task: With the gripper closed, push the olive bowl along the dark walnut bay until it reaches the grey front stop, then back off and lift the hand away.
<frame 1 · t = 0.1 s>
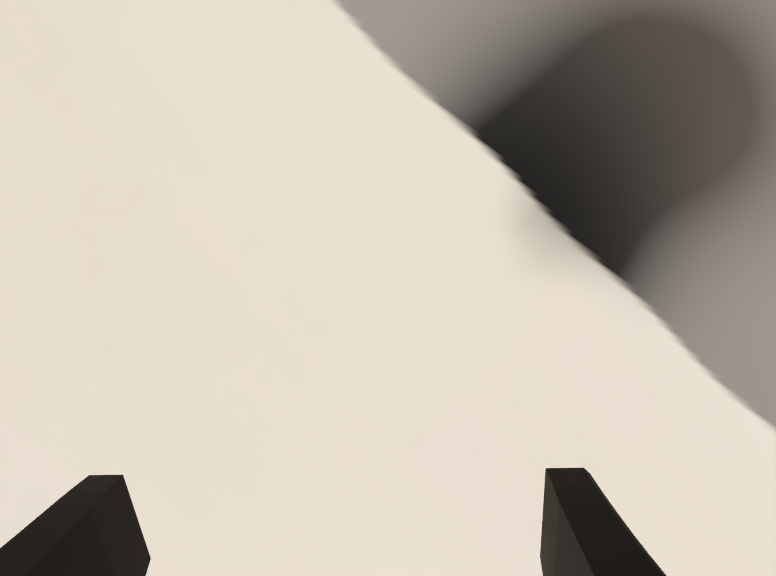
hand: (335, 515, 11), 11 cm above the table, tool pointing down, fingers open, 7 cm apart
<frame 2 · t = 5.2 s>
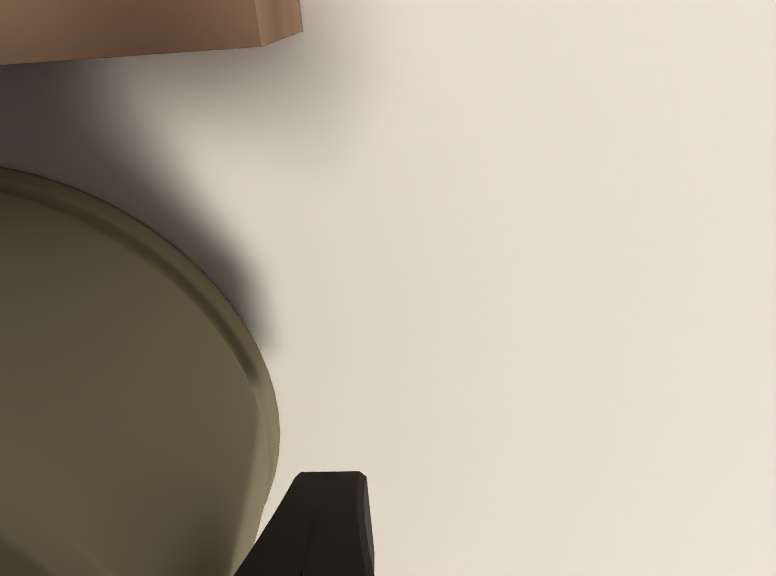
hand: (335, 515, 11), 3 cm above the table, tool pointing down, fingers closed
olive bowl: (36, 404, 14), on the table, touching gripper
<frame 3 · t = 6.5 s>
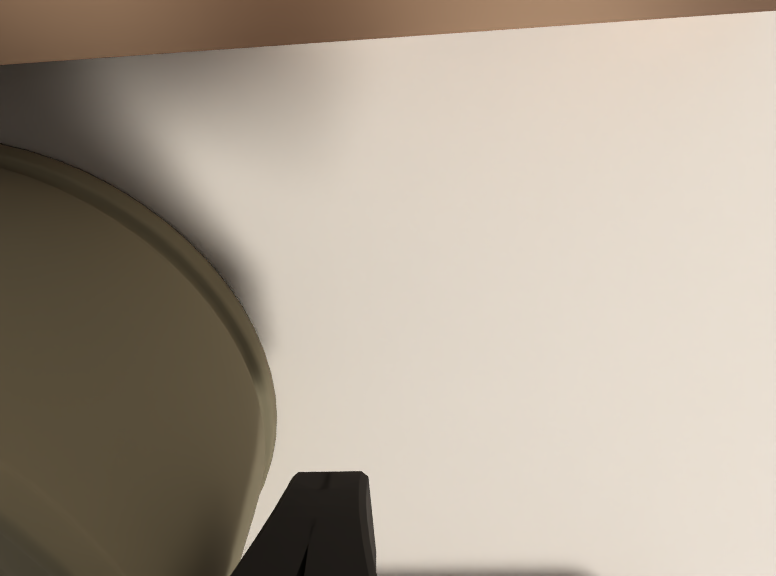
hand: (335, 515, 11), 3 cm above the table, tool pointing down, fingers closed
bay: (90, 403, 14), on the table
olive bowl: (29, 387, 14), on the table, touching gripper
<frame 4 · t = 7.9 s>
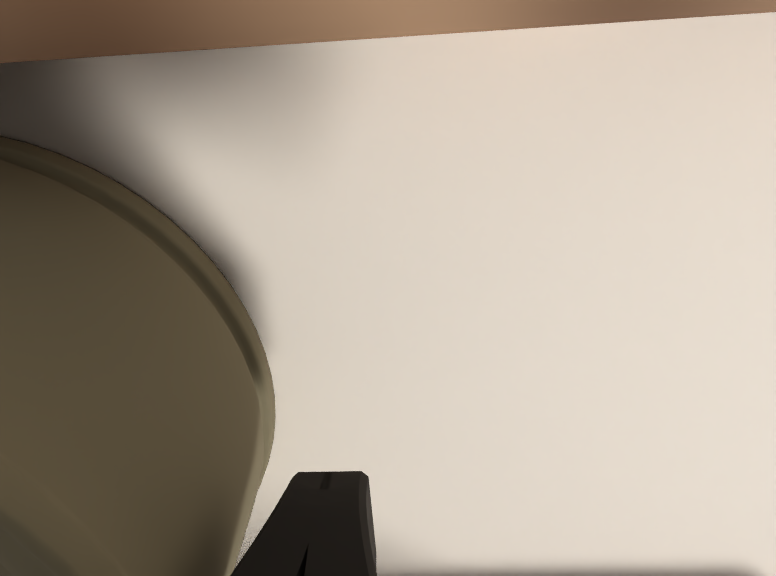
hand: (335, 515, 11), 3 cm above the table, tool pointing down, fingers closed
bay: (268, 398, 14), on the table
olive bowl: (27, 382, 14), on the table, touching gripper
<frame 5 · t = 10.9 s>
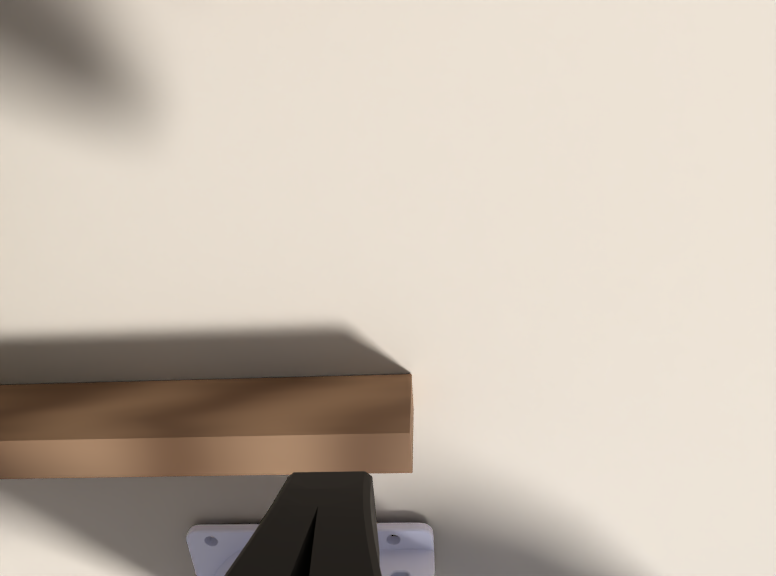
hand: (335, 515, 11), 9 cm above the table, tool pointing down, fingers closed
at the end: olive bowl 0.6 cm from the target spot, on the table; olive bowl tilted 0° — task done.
